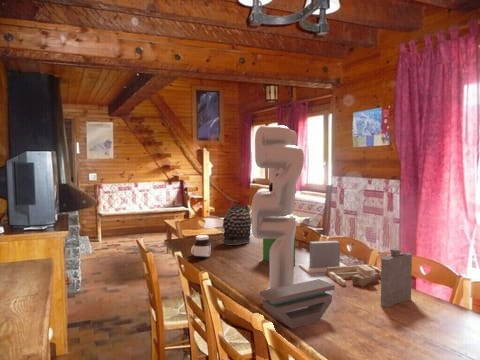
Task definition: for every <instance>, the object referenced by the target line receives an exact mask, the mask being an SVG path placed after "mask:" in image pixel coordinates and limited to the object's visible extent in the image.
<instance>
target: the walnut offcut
mask: <svg viewBox="0 0 480 360" xmlns="http://www.w3.org/2000/svg"><path fill="white" fill-rule="evenodd" d="M378 282H379V278H378V273H376V272H375V277H370V278H366V277H364V276H363V275H361V274H357V275H354V276H353V278H352V285H353V286H354V285H355V286H357V287H360V288H364V287H367V286H369V285H372V284H374V283H378Z"/></svg>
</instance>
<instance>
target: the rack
mask: <svg viewBox="0 0 480 360" xmlns="http://www.w3.org/2000/svg"><path fill="white" fill-rule="evenodd" d="M357 265H358V264H356V265H346V266H338V267H327V272H326V275H327V276H328V277H329V278H330V279H332V280H334V281H335V282H336V283H338V284H339V285H340V286H342V287H345V286H347V280H349V279H350V280H351V279H352V280H353V276H354V275H357V274H360V273H358V272H357ZM366 265H367V266H369V267H370V268H372V269H374V270H375V272H376V273H378V279H380V280H381V268H379V267H377V266H375V265H373V264H366Z"/></svg>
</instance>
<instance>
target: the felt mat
mask: <svg viewBox="0 0 480 360" xmlns="http://www.w3.org/2000/svg"><path fill="white" fill-rule="evenodd" d="M340 266H347V264H345V263H342V262H341V261H340ZM298 267H299V268H301V269H302V271H304V272H306V273H307V274H310V273H311V274H313V273H314V274H315V273H327V267H325V268H311V267H310V263H298Z"/></svg>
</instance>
